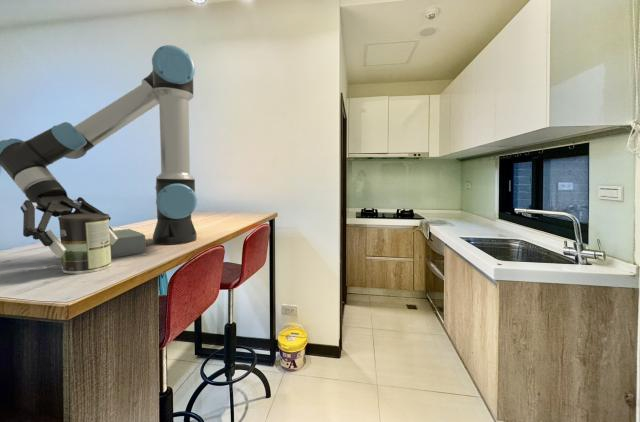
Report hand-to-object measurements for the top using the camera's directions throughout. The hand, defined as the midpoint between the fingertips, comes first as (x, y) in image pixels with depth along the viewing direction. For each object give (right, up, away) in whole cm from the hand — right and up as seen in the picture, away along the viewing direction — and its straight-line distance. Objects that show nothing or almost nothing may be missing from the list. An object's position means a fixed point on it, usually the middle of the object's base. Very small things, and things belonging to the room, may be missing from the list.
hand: (90, 247), depth 75 cm
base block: (-6, -4, +17) cm, 18 cm away
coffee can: (-2, -6, +1) cm, 6 cm away
